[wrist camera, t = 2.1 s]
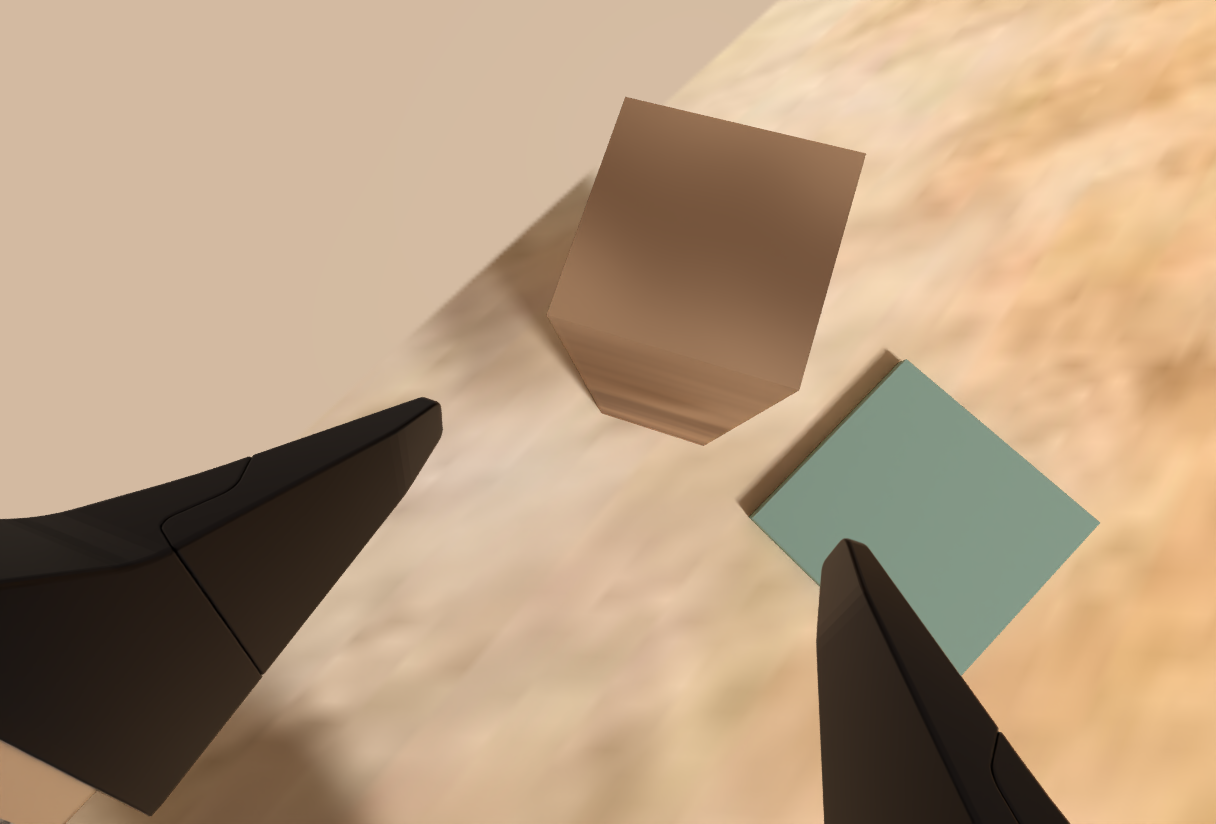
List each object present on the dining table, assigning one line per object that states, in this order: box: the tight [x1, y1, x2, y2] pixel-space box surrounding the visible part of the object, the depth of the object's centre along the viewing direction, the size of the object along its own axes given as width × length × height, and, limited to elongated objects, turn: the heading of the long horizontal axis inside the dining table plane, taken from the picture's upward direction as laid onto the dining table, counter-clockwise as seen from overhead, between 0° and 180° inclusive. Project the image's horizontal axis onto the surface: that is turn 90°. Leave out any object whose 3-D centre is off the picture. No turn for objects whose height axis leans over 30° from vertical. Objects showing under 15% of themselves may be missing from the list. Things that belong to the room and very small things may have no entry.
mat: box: [749, 359, 1100, 676], centre depth 20 cm, size 10×10×1 cm
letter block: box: [547, 97, 866, 446], centre depth 15 cm, size 5×5×13 cm
